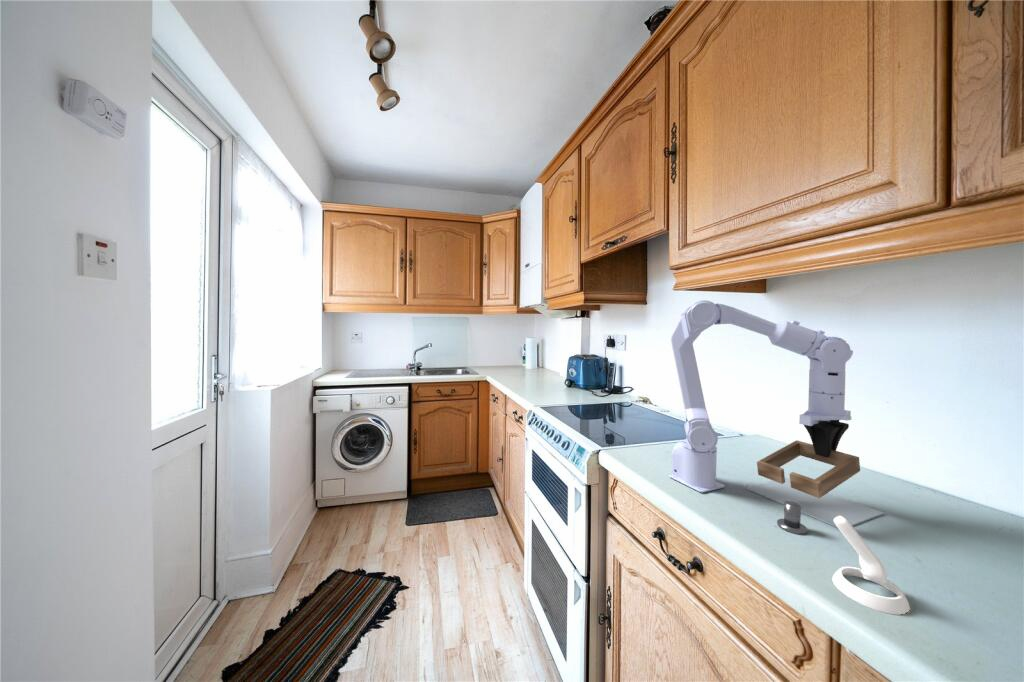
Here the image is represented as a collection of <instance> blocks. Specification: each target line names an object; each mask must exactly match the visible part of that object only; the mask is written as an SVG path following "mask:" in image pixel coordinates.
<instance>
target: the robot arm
mask: <svg viewBox="0 0 1024 682" xmlns="http://www.w3.org/2000/svg"><path fill="white" fill-rule="evenodd" d="M800 323H801V322H799V321H797V320H791V321H787V320H783V321H781V322H777V323H775V322H773V321H769V320H767V319H765V318H762V317H759V316H756V315H754V314H752V313H748V312H746V311H743V310H741V309H738V308H736V307H733V306H730V305H726V304H723V303H718V302H717V303H714V302H713V301H710V300H706V299H702V300H698V301H695V302H694V303H693V304H692V305H690V306H689V307H688V308H687V309H686V310H684V312H683V313H681V315H680V317H679V319H678V321H677V324H676V326H675V327H674V330H673V332H672V334H671V336H670V342H671V346H672V352H673V358H674V362H675V369H676V371H677V377H678V381H679V387H680V392H681V396H682V402H683V403H682V404H683V406H684V413H685V421H684V425H683V430H684V433H685V435H686V438H685V440H684V441H683V440H681V441H678V442H676V443H675V444H674V446H673V448H672V451H671V474H669V475H668V476H669V478H671V479H672V480H675V481H677V482H678V483H681V484H683V485H685V486H687V487H688V488H691V489H692V490H695V491H697V492H699V493H706V492H711V491H715V490H719V489H723V488H725V487H726V486H725V484H723V483H721V482H719V481H717V460H718V459H717V454H718V452H717V449H718V448H717V444H718V440H719V438H718V434H717V431H716V430H715V429H714V428H713V427H712V424H711V422H710V418H709V415H708V410H707V407H706V402H705V397H704V393H703V388H702V383H701V379H700V373H699V368H698V364H697V358H696V352H695V350H694V348H695V347H694V342H695V341H696V340H697V339H698V338H699V336H700V335H701V334H702V333H703V332H704V331H705V330H708V329H709V328H711V327H712V326H714V325H733V326H736V327H739V328H742V329H745V330H748V331H751V332H753V333H757V334H760V335H763V336H766V337H768V339H769V341H770V344H772V345H773V346H777V347H779V348H782V349H784V350H787V351H790V352H792V353H794V354H797V355H800V356H804V357H807V359H809V371H808V403H807V404H808V409H807V410H806V411H805V412H804V413H803V414H801V413H800V414H799V419H798V420H799V421H798V422H799V425H802V426H803V427H804V428H805V429H806V431H807V433H808V435H809V437H810V440H811V444H812V445H813V447H814V450H815V453H816V455H820V456H823V457H829V455H830V452H831V450H835V451H837V449H838V445H839V443H840V441H841V438H843V435H844V434H845V433H846V431H847V430H848V429H849V426H850V425H849V423H848V422H846V423H845V422H841V421H852V416H851V415H852V413H851V410H848V409H847V410H846V409H845V406H846V405H845V403H846V402H845V401H846V400H845V399H846V397H845V396H846V365H847V362H849V360H851V358H852V356H853V353H854V350H852V349H851V347H850V344H849V343H848V342H847V341H846V340H845V339H843V338H841V337H838V336H827V335H825V334H826V332H825V331H823V330H819V329H818V330H814V329H811V328H809V327H805V326H802V325H800Z"/></svg>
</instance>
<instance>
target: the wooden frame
mask: <svg viewBox="0 0 1024 682" xmlns="http://www.w3.org/2000/svg"><path fill="white" fill-rule="evenodd" d="M800 456H802V457H804V458H808V459H811V460H815V461H818V462H821V463H824V464H826V465H827V464H828V465H830V466H833V467H832V468H830V469H829V470H826V471H825V472H824V473H823V474H821V475H819V476H818V477H816V478H813V477H812V478H811V477H810V476H805V475H802V474H800V473H797V472H793V471H792V472H790V473H789V479H790V483H791V488H794V489H796V490H799V491H801V492H804V493H806V494H809V495H812V496H814V497H817V498H821V497H822V496H824V495H825V494H827V493H830V492H831V491H833V490H834V489H835V488H837V487H838V486H840V485H842V484H843V483H845V482H846V481H848V480H849V479H850V478H852V477H854V476H855V475H856V474H858V473H859V472H861V463H860V456H856V455H852V454H850V453H845V452H843V451H842V452H841V451H837V450H836V451H835V450H831V452H830V455H829V457H823V456H820V455H816V453H815V450H814V447H813V443H810V442H809V443H808V442H804V441H801V440H797V439H796V440H795V441H792V442H791V443H789V444H787V445H785V446H783V447H781V448H780V449H778V450H776V451H774V452H772V453H771V454H769V455H767V456H765V457H764V458H762V459H760V460H758V461H756V467H757V475H758V476H761V477H763V478H765V479H769V480H770V481H776V482H778V483H781V484H783V483H785V469H784V468H782V466H784V465H787V464H788V463H790V462H791V461H794V459H796V458H798V457H800Z"/></svg>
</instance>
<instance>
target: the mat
mask: <svg viewBox="0 0 1024 682" xmlns="http://www.w3.org/2000/svg"><path fill="white" fill-rule="evenodd" d="M745 489H746V490H747V491H750V492H753V493H755V494H757V495H759V496H762V497H764V498H767V499H769V500H772V501H773V502H776V503H778V504H780V505H783V506H784V503H785V501H791V502H795V503H798V504H799V505H801V514H804V515H807V516H809V517H812V518H814V519H816V520H817V521H821V522H823V523H826V524H827V525H830V526H833V527H835V528H837V529H838V527H837V526H836V524H835V523H834V521H833V519H834V518H835V517H837V516H842V517H844V518H845V519H846V520H847V521H848V522H849V523H850V524H851V525H852V527H854V526H857V525H859V524H862V523H864V522H867V521H869V520H873V519H875V518H878V517H880V516H882V515H885V512H884V511H881V510H878V509H876V508H872V507H869V506H867V505H864V504H861V503H859V502H855V501H852V500H850V499H847V498H844V497H842V496H838V495H836V494H833V493H830V492H828V493H827V494H825V495H824V496H822V497H821V498H817V497H814V496H812V495H809V494H806V493H804V492H801V491H799V490H796V489H794V488H791V483H790V477H785V483H783V484H781V483H778V482H776V481H773V480H770V481H766V482H763V483H758V484H754V485H751V486H746V487H745Z"/></svg>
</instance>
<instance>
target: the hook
mask: <svg viewBox="0 0 1024 682" xmlns="http://www.w3.org/2000/svg"><path fill="white" fill-rule="evenodd" d="M833 521H834V523H835V524H836V526H837V527H838V528H837V527H836V528H837V529H838V530H839V531H840V532H841V533H842V535H843V536H844V538H845V539H846V540H847V541H848V543H849V544H850V545H851V546H852V548H853V549H854V550H855V551H856V553H857V554H858V563H859V566H860V568H859V567H854V566H842V567H840V568H838V569H837V570H836V571H835V572H834V574H833V575H832V578H831V580H832V583H833V585H834V586H835V587H836V588H837V590H839V591H840V592H841V593H843V595H845V596H847V597H848V598H849V599H851V600H853V601H855V602H857V603H858V604H860V605H862V606H865V607H868V608H869V609H872V610H875V611H877V612H881V613H885V614H890V615H894V616H895V615H897V616H899V615H900V616H902V615H901V614H903V615H906V614H905V613H906V612H908V611H909V610H910V611H911V606H910V603H909V601H908V599H907V596H906V595H905V593H904V592H903V591H902V590H901V587H899V586H897V585H896V584H895V583H894V582H892V581H890V580H889V579H888V571H887V569H886V567H885V565H884V564H883V563H882V561H881V560H880V559H879V557H878V556H877V555H876V554H875V552H873V550H872V549H871V548H870V546H869V545H868V544H867V543H866V541H865V540H864V539H863V538H862V537H861V536H860V535H861V534H859V533H858V532H857V530H856V529H855V528H854V526H852V525H851V524H850V523H849V522H848V521H847V520H846V519H845V518H844V517H842V516H837V517H835V518H834V519H833ZM845 576H851V577H856V578H861V579H864V580H867V581H870V582H873V583H874V584H876V585H879V586H881V587H883V588H885V589H887V590H888V591H889V592H892V593H893V594H895V595H896V596H895V597H888V596H882V595H879V594H874V593H872V592H869V591H867V590H864V589H862V588H860V587H858V586H857V585H855V584H853V583H851V582H850V581H849V580H848V579H846V577H845ZM910 611H909V612H910ZM909 612H908V613H909Z"/></svg>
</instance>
